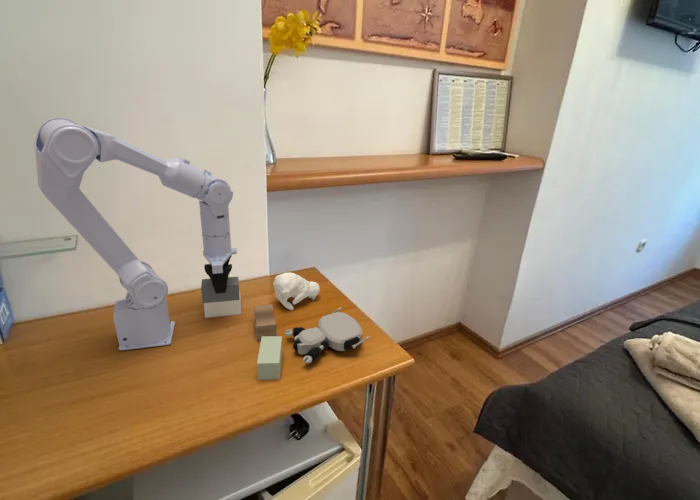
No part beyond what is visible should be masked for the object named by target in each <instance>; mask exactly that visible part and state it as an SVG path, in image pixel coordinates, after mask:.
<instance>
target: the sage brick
mask: <svg viewBox="0 0 700 500" xmlns="http://www.w3.org/2000/svg"><path fill="white" fill-rule="evenodd" d="M282 358H283V336H281V335H279V336H278V335H276V336H262V338H261V341H260V344H259V350H258V356H257V362H256V373H257V380H258V381H261V380H263V381H265V380H280V379H281V369H282V368H281V367H282Z"/></svg>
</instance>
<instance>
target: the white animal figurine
mask: <svg viewBox="0 0 700 500" xmlns="http://www.w3.org/2000/svg"><path fill="white" fill-rule="evenodd" d="M272 285H273V288H274V293H275V297H276V299H277V300H278V301H279V302H280V303H281V304H282V305H283V307H284V308H285V309H288V310H289V311H293V310H294V308H295V307H294V305H297V304H298V303H300V302H301V301H303V300H304V299H305V298H309V299H312V301H314V300H315V299H316V298H317V295H318V294H319V293H320V291H321V288H320V287H321V286H320V285H319V283H318V282H315V281H308V280H307V279H305V278H304V277H302V276H301V275H298V274H296V273H294V272H283V273H281V274H278V275H276V276H275V278H274V281H273V282H272ZM289 298H294V299H293V300H292V303H291V302H289V301H288V299H289Z"/></svg>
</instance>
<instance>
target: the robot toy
mask: <svg viewBox="0 0 700 500" xmlns="http://www.w3.org/2000/svg"><path fill="white" fill-rule="evenodd" d="M342 309H343V308H342V307H339V308H337V309H336V310H334V311H333V312H331V313H329V314H326V315H323V316H321V318H320V319H319V321H318V327H317V326H316V327H311V328H305V327H302V326H299V327H298V326H297V327H296V326H295V327H293V328H292V329H290V328H289V329H286V330H285V333H284V334H285V336H286V337H291V336H293V338H294V342H293V344H292V348H293V350H294V351H295V352H297V354H299V355H305V356H304V357H303V358H302V361H303V363H305V364H307V365H309V364H311V363H312V362H315V361H316V360H317V359H318V358H320V355H321V353H322V351H323V350H324V351H325V350H327V349H328V348H329V347H330V348H331V349H333V350H335V351H340V352H345V351H349V350H351V349H356V348H357V347H359V346H360V345H361V344H362V343H364V342H365V341H367V340H369V339H370V338H371V336H366V337H365V338H364V339H363V328H362V326H361V324H360V323H359V322H358V321H357V320H356V319H355V318H354V317H352V316H351V315H349V314H347V313H345V312H340V311H341V310H342Z"/></svg>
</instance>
